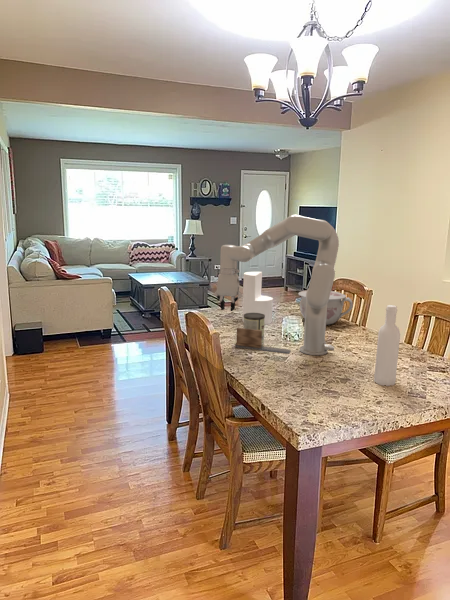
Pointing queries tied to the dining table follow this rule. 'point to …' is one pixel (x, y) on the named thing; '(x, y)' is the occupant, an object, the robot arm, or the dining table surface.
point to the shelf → (249, 337)
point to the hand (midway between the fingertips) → (227, 309)
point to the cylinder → (256, 297)
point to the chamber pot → (329, 306)
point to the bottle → (387, 349)
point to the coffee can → (254, 322)
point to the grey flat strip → (267, 349)
